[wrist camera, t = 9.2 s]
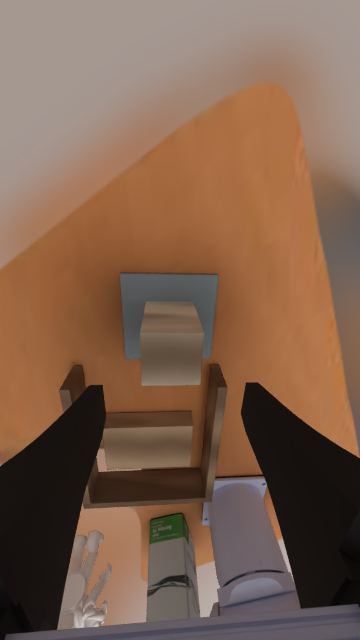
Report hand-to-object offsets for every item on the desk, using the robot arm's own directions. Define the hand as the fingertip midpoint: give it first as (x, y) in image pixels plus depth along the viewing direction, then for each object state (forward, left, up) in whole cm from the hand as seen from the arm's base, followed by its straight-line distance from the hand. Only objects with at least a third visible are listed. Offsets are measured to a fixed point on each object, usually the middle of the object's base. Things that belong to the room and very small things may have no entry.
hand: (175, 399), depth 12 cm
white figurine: (-34, +11, -11) cm, 37 cm away
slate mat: (0, 0, -10) cm, 10 cm away
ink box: (-34, -1, -11) cm, 36 cm away
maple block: (0, 0, -10) cm, 10 cm away
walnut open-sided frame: (-13, +2, -10) cm, 17 cm away
